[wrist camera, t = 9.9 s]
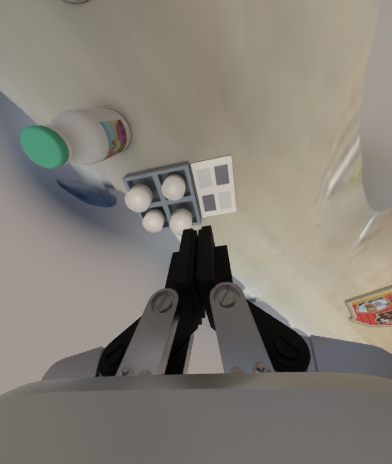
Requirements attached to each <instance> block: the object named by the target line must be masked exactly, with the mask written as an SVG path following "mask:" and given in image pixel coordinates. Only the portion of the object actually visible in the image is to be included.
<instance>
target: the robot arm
mask: <svg viewBox="0 0 392 464" xmlns="http://www.w3.org/2000/svg"><path fill="white" fill-rule="evenodd" d="M63 1H67V2H70V3H81V2H85V1H87V0H63ZM205 310H206V313H207V316H208V319H209V323H210V326H211V327H212V328H213V329H214V330H215V331H216V333H217V339H218V343H219V349H220V354H221V359H222V364H223V368H224V373H221V374H187V371H188V366H189V360H190V355H191V350H192V344H193V339H194V331H195V330H196V329H197V328H198V325H201V324H202V318H205ZM0 464H392V354H391V353H389V352H387V351H385V350H384V349H382V348H379V347H376V346H373V345H367V344H362V343H356V342H350V341H344V340H338V339H332V338H326V337H320V336H314V335H311V336H310V337H306V336H301V335H299V334H297V333H296V332H295V331H294V330H292V329H291V328H289V327H288V326H286V325H285V324H283V323H282V322H280V321H279V320H277V319H275V318H274V317H272V316H271V315H269V314H268V313H266V312H265V311H263V310H262V309H260V308H259V307H257V306H256V305H254V304H253V303H251V302H250V301H248V300H247V299H246V298H245V296H244V293H243V291H242V290H241V288H240V287H239V286H238V285H236V284H234V283H233V281H232V275H231V269H230V262H229V256H228V250H227V245H224V246H217V247H215V243H214V238H213V233H212V228H211V225H210V226H203V227H202V229H200V230H199V231H198V235H197V231H196V230H193V229H192V228H190V229H184V230H183V233H182V239H181V244H180V250H179V252H174V253H173V255H172V258H171V263H170V267H169V272H168V276H167V281H166V286H165V289H161V290H159V291H157V292H156V293H154V294H153V295H152V296H151V298H150V299H149V301H148V304H147V306H146V308H145V310H144V313H143V315H142V316H141V317H140V318H139V319H138V320H136V321H135V322H134V323H133V324H132V325H131V326H129V327H128V328H127V329H126V330H125V331H124V332H122V333H121V334H120V335H119V336H118V337H117V338H115V339H114V340H113V341H112V342H111V343H110V344H109V345H108V346H107V347H106V348H103V347H99V348H95V349H92V350H89V351H86V352H83V353H80V354H77V355H73V356H70V357H67V358H64V359H62V360H60V361H58V362H56V363H55V364H54V365H52V366H51V367H50V368H49V370H48V371H47V372H46V373H45V375H44V377H43V378H42V380H41V381H38V382H33V383H29V384H26V385H23V386H20V387H17V388H15V389H13V390H11V391H8V392H7V393H4V394H2V395H0Z"/></svg>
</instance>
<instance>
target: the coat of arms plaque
mask: <svg viewBox="0 0 392 464" xmlns="http://www.w3.org/2000/svg"><path fill="white" fill-rule="evenodd" d="M345 303H346V305H347V307H348V309H349V311H350V313H351V317H350V318H349V319H350V320H351V321H352V322H354V323H358V324H361V325H365V326H369V327H392V285H391V286H388V287H385V288H381V289H378V290H375V291H372V292H369V293H366V294H363V295H360V296H357V297H354V298H351V299H348V300H345Z"/></svg>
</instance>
